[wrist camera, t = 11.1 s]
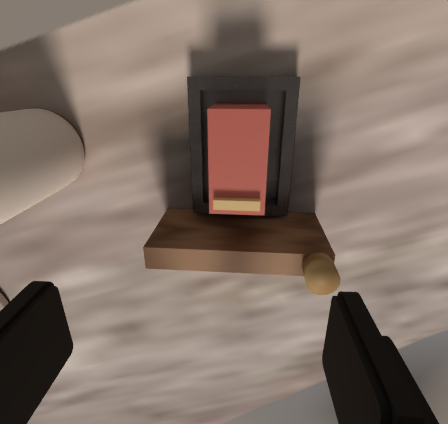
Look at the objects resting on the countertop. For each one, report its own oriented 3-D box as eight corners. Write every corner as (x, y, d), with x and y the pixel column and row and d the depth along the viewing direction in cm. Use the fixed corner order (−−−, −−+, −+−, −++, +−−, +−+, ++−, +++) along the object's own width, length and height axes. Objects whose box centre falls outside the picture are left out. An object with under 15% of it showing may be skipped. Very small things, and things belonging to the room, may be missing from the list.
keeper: (196, 204, 31) (193, 212, 29) (191, 76, 26) (187, 76, 25) (285, 207, 31) (287, 215, 29) (296, 76, 26) (300, 76, 24)
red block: (266, 103, 26) (271, 110, 20) (261, 190, 30) (264, 218, 24) (216, 102, 27) (206, 109, 21) (216, 188, 30) (208, 216, 24)
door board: (169, 227, 32) (137, 285, 23) (167, 206, 32) (134, 258, 22) (312, 232, 31) (337, 295, 22) (315, 211, 30) (342, 268, 21)
